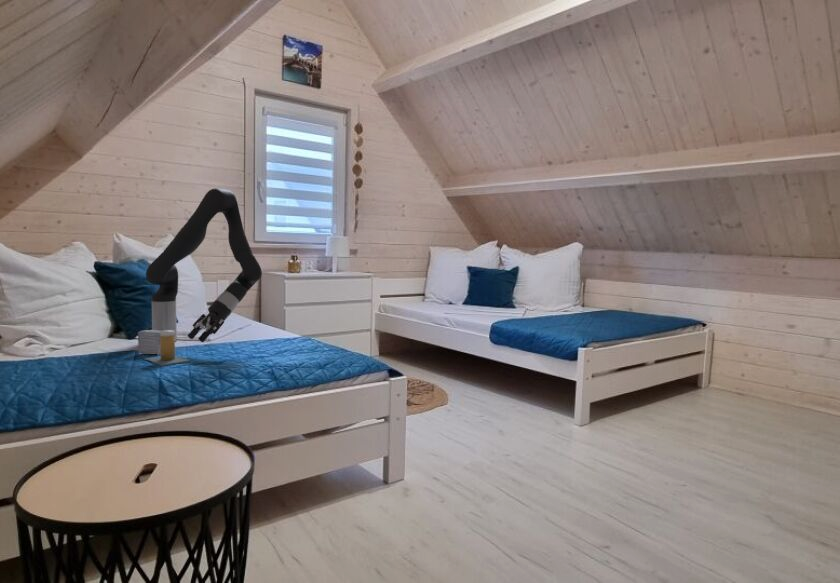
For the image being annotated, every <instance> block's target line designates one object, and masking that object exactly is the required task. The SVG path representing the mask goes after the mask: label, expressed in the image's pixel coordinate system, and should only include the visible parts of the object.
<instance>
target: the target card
mask: <svg viewBox="0 0 840 583" xmlns="http://www.w3.org/2000/svg"><path fill="white" fill-rule="evenodd" d="M145 359H146V360H149V361H151V362H153V363H152V364H154V363H156V364H155V365H157V364H158V365H157V366H159V365H160V367H167V366H172V365H173V364H174V365H178V364H179V363H180V364H185V362H187V363H191V362H192V360H191V359H189V358H186V357H183V356H181V355H180V356H179V355H177V354H175V359H174V360H167V361H164V360H161V355H156V356H152V357H145V358H144V360H145ZM146 360H145V361H146ZM149 361H148V362H149ZM151 362H150V363H151ZM180 364H179V365H180Z"/></svg>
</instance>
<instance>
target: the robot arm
mask: <svg viewBox="0 0 840 583" xmlns="http://www.w3.org/2000/svg"><path fill="white" fill-rule="evenodd" d="M236 197H237V196H236V195H235V194H234V192H232V191H231V190H229V189H224V188H212V189H209V190H208V191H207V192H206V193H205V195H204V196H203V198H202V199H201V201H200V203H199V204H198V207H196V209H195V211H194V213H192V215H191V216H190V217H189V219H187V221H186V223H185V224H184V225H183V226H182V227H181V229H179V231H178V232H177V234H175V236H174V238H173V239H172V240H171V241H170V243H169V244H168V245H167V246H166V247H165V249H164V250H163V251H162V252H161V254H159V255H158V256H157V257H156V258H155V259H154V260H153V261H152V262H151V263H150V265H148V267H147V269H146V272H145V278H146V281H147V282H148V283H149V284H151V285H153V286H154V285H156V286H159V287H158V289H157V290H156V291H155V292H153V293H152V294H151V297H150V298H151V330H159V331H163V330H174V331H175V342H177V339H178V335H177V330H178V329H177V295H178V292H179V271H178V268H177V266H176V264H178V263H179V262H180V261H182V260H183V259H185V258H187V257H189V256H190V255H191V254H193V253H194V252H195V251H197V249H198V248H199V247H200V245H201V244H202V243H203V242H204V240H205V238H206V235H207V228H208V225H209V224H210V222H211V221H212V220H213V219H214V217H215V216H216V215H217V214H218V213H220V214H221V213H222V214H223V216H224V217H225V220H226V222H227V223H226V224H227V227H228V238H227V239H228V244H229V248H230V250H231V252H232V255H233V258H234V259H235V261H236V262H237V263H239V265H240V267H241V272H240V273H239V274H238V275H237V277H236V278H235V279H234V280H233V282H231V283H230V284H229V285H228V286H227V287H226V289H224V291H222V293H221V294H219V295H218V297H217V298H216V299H215V300H214V301H213V302H212V303H211V305H210V306H208V308H207V311H208V313H207V315H205V313H202V314H201V315H200V317H198V319H197V320H196V321H195V322H194V323H193V324H192V328H193V329H192V330H190V332H188V334H187V338H189V339H190V340H194V339H195V337H196V336H197V335H198V334H199V332H201V331H202V330H204V331H203V332H202V333H201V335H199V337H197V338H198V339H197V340H199V341H200V342H201V343H205V341H206V340H207V339H208V338H209V337H210V335H215V334H216V333H217V332H218V331H219V329H220V328H221V327H222V326H223V325H224V323H225V321H226V319H227V318H228V317H229V316H230V315H231V314H232V312H233V311H234V310H236V307H238V305H239V304H240V302H241V301H242V300H243V299H244V297H245V296H246V295H247V294H248V292H249V291H250V289H252V287H253V286H254V285H255V284H256V283H257V282H258V281H259V280H260V279H261V278H262V275H263V274H262V268H261V265H260V263H259V262H258V260H257V259H256V257H255V256H254V254H253V251H252V249H251V246H250V244H249V240H248V238H247V236H246V233H245V230H244V226H243V223H242V222H243V221H242V218H241V214H240V209H239V204H238V201H237V198H236Z"/></svg>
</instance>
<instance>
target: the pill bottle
mask: <svg viewBox="0 0 840 583" xmlns="http://www.w3.org/2000/svg"><path fill="white" fill-rule="evenodd" d="M175 342H176V341H175V331H174V330H163V331H160V352H161V354H160V356H161V360H164V361H167V360H174V359H175V355H176V345H175Z"/></svg>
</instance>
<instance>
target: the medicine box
mask: <svg viewBox="0 0 840 583" xmlns="http://www.w3.org/2000/svg"><path fill="white" fill-rule="evenodd" d="M137 341H138V342H137V344H138V347H137V348H138V349H137V350H138V354H139V353H142V354H157V355H156V356H160V355H161V352H160V331H159V330H152V329H145V330H140V331H138V332H137ZM159 354H160V355H159Z"/></svg>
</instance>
